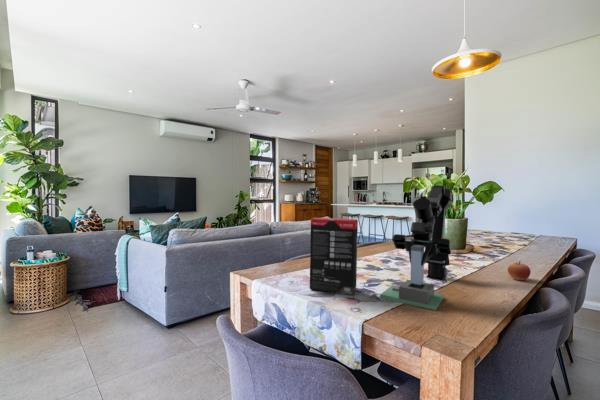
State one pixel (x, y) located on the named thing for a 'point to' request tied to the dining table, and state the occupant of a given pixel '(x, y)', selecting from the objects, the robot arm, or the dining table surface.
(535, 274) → the dining table surface
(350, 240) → the graphics card box
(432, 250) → the robot arm
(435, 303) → the header board
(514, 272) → the apple
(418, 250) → the light blue tall block
